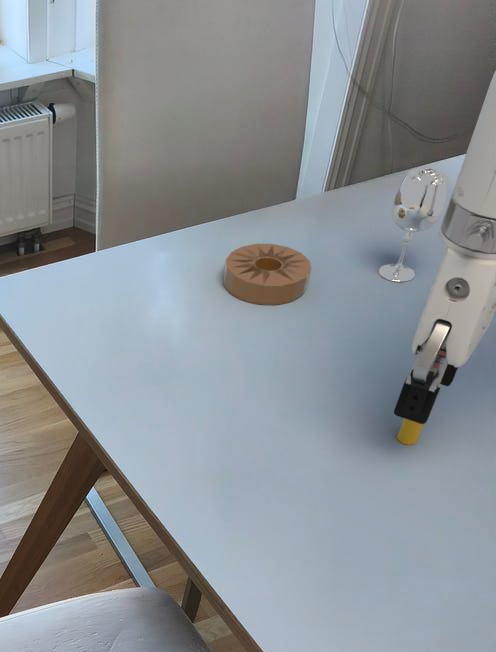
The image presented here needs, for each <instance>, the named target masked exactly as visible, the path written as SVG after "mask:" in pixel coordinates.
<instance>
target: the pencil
mask: <svg viewBox="0 0 496 652" xmlns="http://www.w3.org/2000/svg"><path fill="white" fill-rule="evenodd" d="M438 355H442V356H446V352H445V351H442V350H440V352H439V354H438ZM439 365H440V363H436V362H434V364H433V367H432V370H431V371H432V372H434V376H435V374H436V372H437V370H438V368H439ZM445 370H446V369H445ZM444 372H445V371H444ZM443 375H444V373H443ZM442 377H443V376H442ZM441 380H442V378H441ZM441 380H440V382H441ZM440 382H439V384H438V387H440V385H441V384H440ZM424 426H425V425H424V424H420V423H417V422H414V421H411V420H408V419H405V418H403V420H402V423H401V425H400V428H399V431H398V434H397V441H398V442H399V443H401V444H404V445H408V446H412V445H415V444H416V443H417V442H418V440H419V437H420V435H421V433H422V430H423V427H424Z"/></svg>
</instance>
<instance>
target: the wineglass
mask: <svg viewBox="0 0 496 652" xmlns="http://www.w3.org/2000/svg"><path fill="white" fill-rule="evenodd" d="M448 185H449V176H448V175H447V174H446V173H445V172H444V171H442V170H439V169H437V168H432V167H431V168H430V167H415V168H412V169H410V170H408V172H407V173H406V175H405V177H404V178H403V180H402V182H401V184H400V186H399V187H398V190H397V192H396V195H395V197H394V200H393V203H392V209H391V217H392V220H393V222H394V224H395V225H396V226H397V227H398V228H399V229H400V230H403V231H405V232H406V233H404V236H403V237H402V238H403V239H402V249H401V253H400V256H399V258H398V261H397V263H386V264H383V265H381V266H380V267H379V269H378V274H379V275H380V277H382V278H383V279H385V280H388V281H390V282H395V283H405V282H411V281H412V280H413V279H414V278H415V277H416V272H415V270H414V269H413V268H411V267H410V266H408V265H404V263H403V261H404V258H405V254H406V251H407V249H408V248H409V245H410V243H412V241H413V237H414V234H413V233H419V232H424V231H427V230H429V229H431V228H432V227H434V225H435V224H436V223H437V222H438V221H439V219H440V218H441V216H442V213H443V211H444V208H445V205H446V201H447V196H448Z"/></svg>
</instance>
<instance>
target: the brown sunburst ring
mask: <svg viewBox="0 0 496 652" xmlns="http://www.w3.org/2000/svg"><path fill="white" fill-rule="evenodd" d="M311 265H312V264H311V261H310V259H309V258H307V257H306V255H304V254H303V253H302V252H300V251H298V250H297V249H294V248H291V247H289V246H285V245H279V244H277V243H276V244H275V243H253V244H248V245H243V246H240V247H238V248H236V249H234V250H233V251H231V252H230V253H229V255H228V256H227V257H226V259H225V263H224V270H223V275H222V276H223V277H222V278H223V280H222V284H223V286H224V288H225V290H226V291H227V292H228V293H229V294H230V295H231V296H232V297H235V298H236V299H239V300H240V301H243V302H246V303H249V304H254V305H261V306H278V305H284V304H288V303H291V302H294V301H296V300H297V299H300V298H301V297H302V296H303V295H304V294H305V292H306V290H307V288H308V285H309V281H310V277H311V273H312V266H311Z"/></svg>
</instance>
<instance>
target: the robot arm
mask: <svg viewBox="0 0 496 652" xmlns="http://www.w3.org/2000/svg"><path fill="white" fill-rule="evenodd" d="M490 80H491V81H490V83H489V86H488V88H487V92H486V95H485V98H484V100H483V104H482V106H481V109H480V112H479V116H478V117H477V121H476V124H475V127H474V129H473V133H472V136H471V138H470V141H469V144H468V147H467V150H466V153H465V155H464V158H463V161H462V165H461V167H460V170H459V174H458V176H457V179H456V182H455V185H454V187H453V190H452V194H451V196H450V199H449V202H448V205H447V207H446V210H445V214H444V216H443V219H442V222H441V225H440V228H439V231H438V236H439V239H440V240H441V242H442V243H443V244H444V245H445V246H446V249H445V252H444V255H443V257H442V260H441V262H440V264H439V267H438V268H437V272H436V275H435V278H434V280H433V283H432V286H431V288H430V291H429V294H428V296H427V299H426V301H425V305H424V308H423V310H422V313H421V316H420V319H419V322H418V324H417V328H416V331H415V334H414V337H413V340H412V343H411V347H410V348H411V351H412V353H413V354H414V355H415V356H416V357H415V359H414V361H413V364H412V366H411V368H410V370H409V373H408V375H407V377H406V378H405V380H404V381H403V382H404V383H403V384H402V388H401V390H400V393H399V396H398V399H397V401H396V404H395V407H394V409H393V414H394V416H395V417H399V418H401V419H404V418H405V419H408V420H411V421H414V422H417V423H420V424H426V423H427V422H428V420H429V417H430V415H431V413H432V411H433V408H434V405H435V403H436V400H437V398H438V395H439V393H440V390H441V387H440V386H439V387H438V384H439V382H440V380H441V378H442V380H441V382H440V385H442V386H445V387H449V386H451V384H452V383H453V381H454V379H455V376H456V374H457V371H458V369H459V367H462V366H464V365H465V364H466V362H467V361H468V360H469V359H470V357H471V356H472V354H473V353H474V351H475V350H476V348H477V347H478V345H479V344H480V342H481V340H482V339H483V337H484V335H485V334H486V332H487V331H488V329H489V326H490V324H491V323H492V320H493V317H494V315H495V312H496V70H495V71H494V73H493V76H492V78H491V79H490ZM440 350H442V351H445V352H446V356H442V355H438V354H439V352H440ZM434 362H436V363H440V365H439V368H438V370H437V372H436V374H435V376H434V372H432V371H431V370H432V367H433V364H434ZM445 369H446V370H445ZM444 371H445V372H444ZM443 373H444V375H443ZM442 376H443V377H442Z"/></svg>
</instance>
